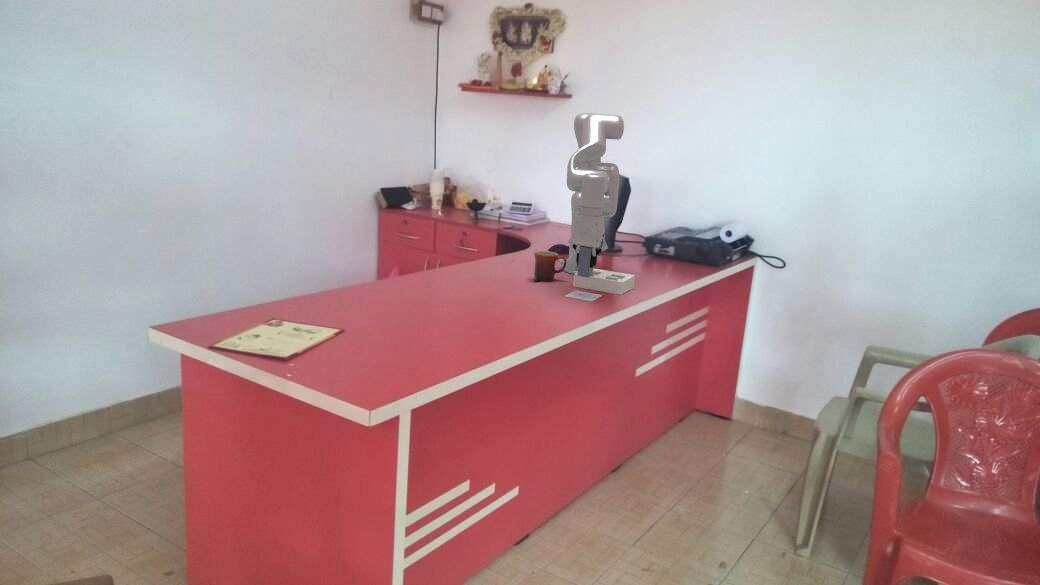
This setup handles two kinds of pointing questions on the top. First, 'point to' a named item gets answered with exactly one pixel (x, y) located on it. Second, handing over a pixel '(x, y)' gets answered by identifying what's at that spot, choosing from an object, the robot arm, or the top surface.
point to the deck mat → (583, 295)
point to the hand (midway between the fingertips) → (586, 265)
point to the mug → (546, 265)
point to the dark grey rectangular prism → (585, 262)
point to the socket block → (606, 281)
